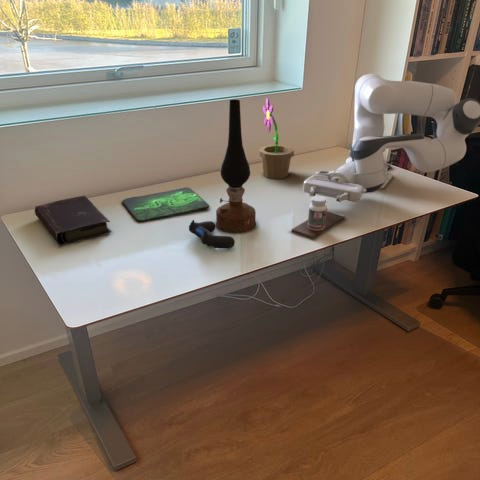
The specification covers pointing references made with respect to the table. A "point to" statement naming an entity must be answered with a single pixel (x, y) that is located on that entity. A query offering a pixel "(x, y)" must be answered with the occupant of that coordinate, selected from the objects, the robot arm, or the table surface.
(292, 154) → the flowerpot
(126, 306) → the table surface
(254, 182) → the table surface
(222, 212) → the oil lamp
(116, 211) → the table surface
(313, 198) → the pill bottle
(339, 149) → the table surface
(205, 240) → the gaming controller
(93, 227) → the diary
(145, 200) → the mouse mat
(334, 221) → the walnut board
